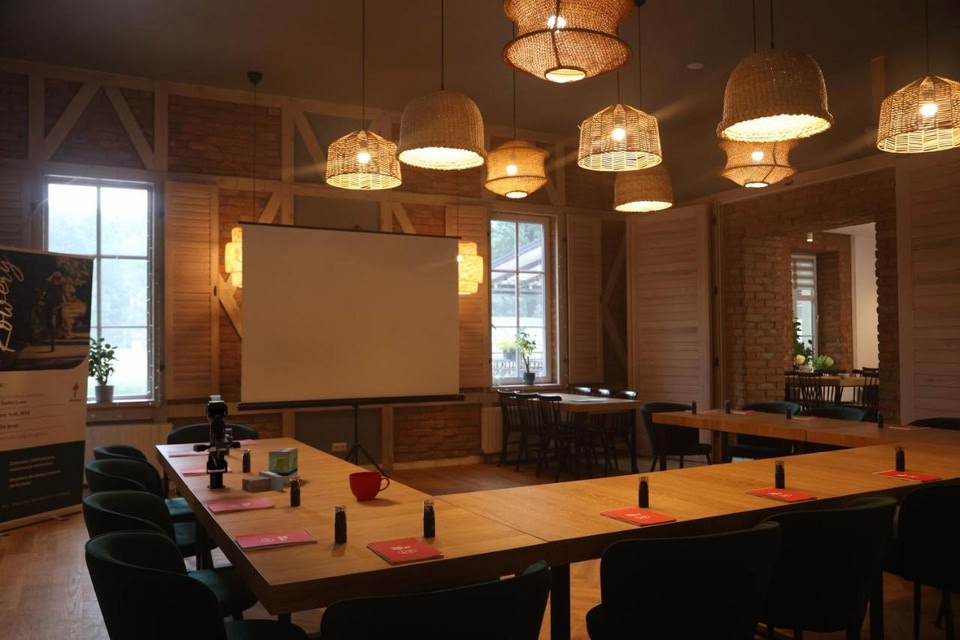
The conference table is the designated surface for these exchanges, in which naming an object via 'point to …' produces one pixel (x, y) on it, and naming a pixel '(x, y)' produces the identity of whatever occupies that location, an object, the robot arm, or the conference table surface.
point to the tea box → (284, 462)
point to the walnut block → (256, 483)
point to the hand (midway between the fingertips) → (217, 466)
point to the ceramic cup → (366, 485)
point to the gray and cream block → (273, 480)
